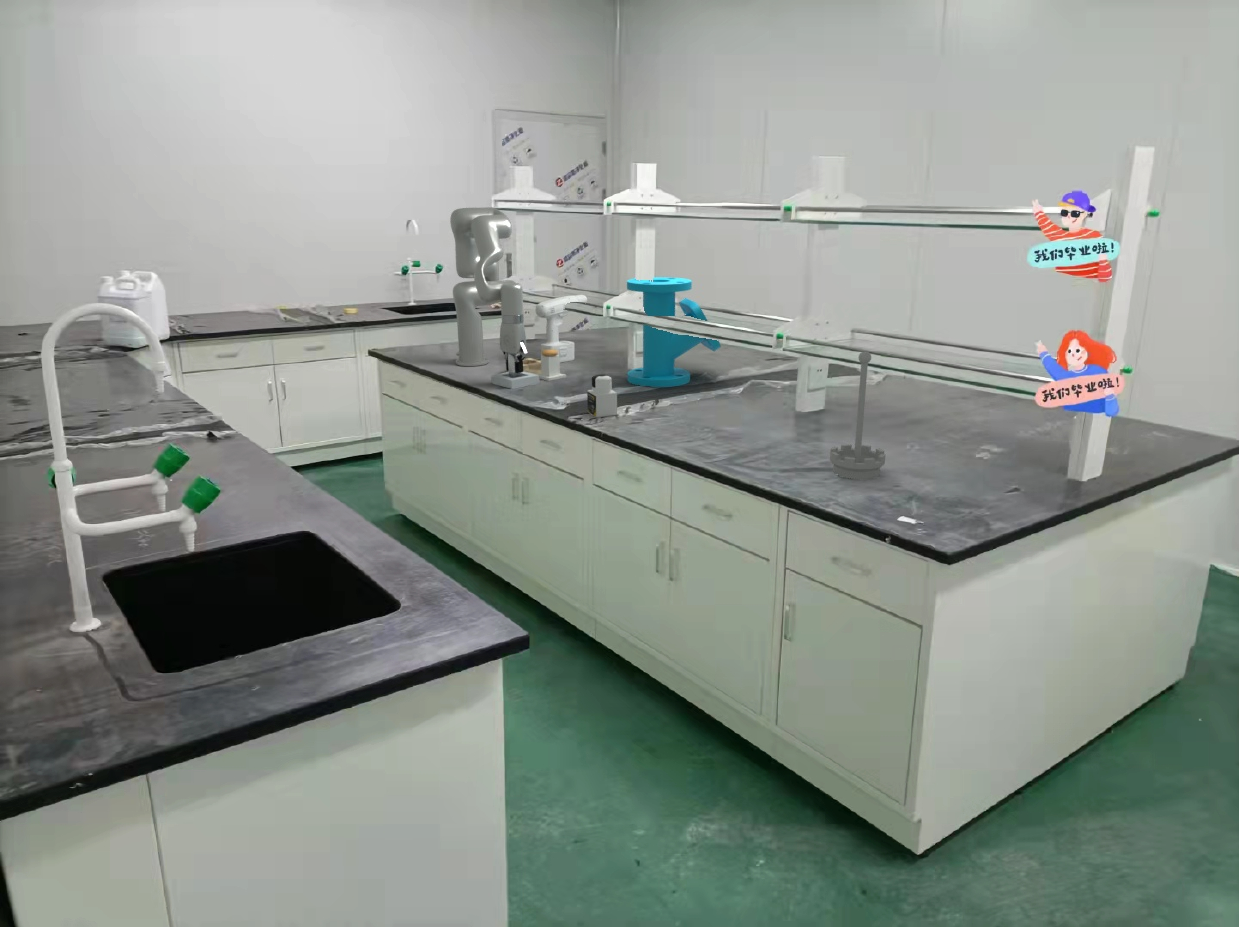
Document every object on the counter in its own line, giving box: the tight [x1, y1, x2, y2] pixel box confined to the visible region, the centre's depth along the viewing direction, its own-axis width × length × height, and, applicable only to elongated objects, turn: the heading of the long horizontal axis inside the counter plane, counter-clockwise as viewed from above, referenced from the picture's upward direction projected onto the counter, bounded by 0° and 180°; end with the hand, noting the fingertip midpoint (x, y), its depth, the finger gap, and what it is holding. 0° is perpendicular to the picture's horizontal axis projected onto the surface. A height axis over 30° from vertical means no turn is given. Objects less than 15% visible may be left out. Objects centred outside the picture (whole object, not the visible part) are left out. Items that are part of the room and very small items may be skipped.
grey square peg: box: [508, 352, 521, 378], centre depth 314 cm, size 4×4×11 cm
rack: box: [505, 357, 541, 375], centre depth 333 cm, size 11×11×4 cm
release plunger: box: [542, 349, 558, 357], centre depth 323 cm, size 6×6×8 cm
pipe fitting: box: [626, 276, 722, 388], centre depth 315 cm, size 22×32×35 cm
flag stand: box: [829, 350, 886, 481], centre depth 214 cm, size 13×13×30 cm
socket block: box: [491, 371, 540, 390], centre depth 315 cm, size 12×12×3 cm
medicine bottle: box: [586, 374, 618, 418], centre depth 273 cm, size 7×7×12 cm
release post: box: [537, 355, 567, 382], centre depth 324 cm, size 8×8×8 cm
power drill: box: [535, 294, 588, 364], centre depth 352 cm, size 8×24×25 cm, turn 132°
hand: (514, 370), depth 315 cm, fingers closed on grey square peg, 4 cm apart
